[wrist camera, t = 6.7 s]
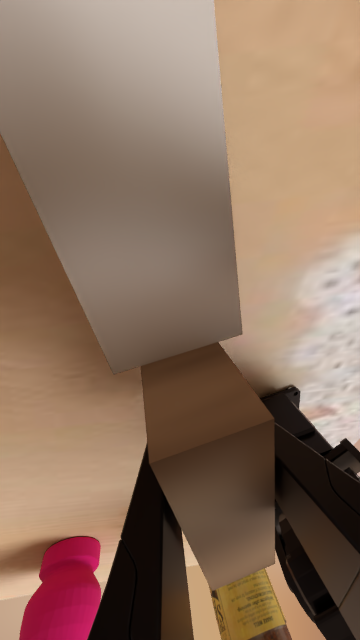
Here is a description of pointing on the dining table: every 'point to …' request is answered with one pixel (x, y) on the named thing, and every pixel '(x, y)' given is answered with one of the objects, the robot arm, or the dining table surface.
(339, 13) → the dining table surface
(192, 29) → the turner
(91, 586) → the pepper mill
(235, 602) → the sauce bottle
